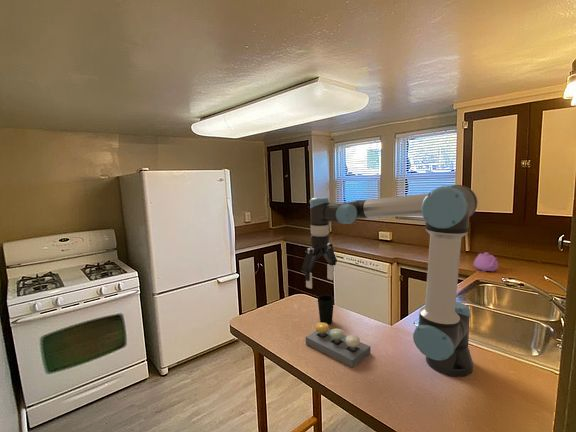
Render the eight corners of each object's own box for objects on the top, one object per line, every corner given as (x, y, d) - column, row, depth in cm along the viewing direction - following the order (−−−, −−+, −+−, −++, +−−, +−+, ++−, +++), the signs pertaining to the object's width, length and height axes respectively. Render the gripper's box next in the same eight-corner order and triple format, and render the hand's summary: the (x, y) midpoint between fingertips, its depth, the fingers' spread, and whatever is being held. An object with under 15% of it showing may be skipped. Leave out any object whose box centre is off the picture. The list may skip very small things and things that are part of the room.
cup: (323, 317, 150) (323, 293, 148) (337, 321, 145) (337, 297, 144) (314, 323, 144) (314, 298, 143) (328, 327, 139) (328, 302, 138)
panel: (370, 353, 119) (370, 346, 118) (352, 367, 111) (352, 360, 110) (324, 332, 135) (324, 326, 135) (305, 343, 127) (305, 336, 127)
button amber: (331, 335, 128) (331, 325, 127) (323, 339, 124) (323, 329, 124) (321, 330, 132) (321, 321, 131) (313, 335, 128) (313, 325, 128)
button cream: (362, 349, 117) (362, 338, 117) (354, 354, 114) (354, 344, 113) (351, 344, 121) (350, 333, 120) (343, 349, 117) (343, 338, 117)
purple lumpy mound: (506, 275, 201) (507, 256, 199) (484, 275, 202) (485, 257, 200) (487, 265, 221) (488, 249, 219) (467, 266, 221) (468, 249, 220)
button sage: (346, 341, 123) (346, 331, 122) (338, 347, 119) (338, 336, 118) (335, 337, 126) (335, 327, 126) (327, 342, 123) (327, 332, 122)
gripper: (331, 229, 139) (331, 274, 142) (291, 238, 123) (292, 289, 126) (345, 231, 134) (345, 278, 137) (305, 240, 117) (306, 294, 120)
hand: (320, 283), depth 131 cm, fingers open, 13 cm apart
